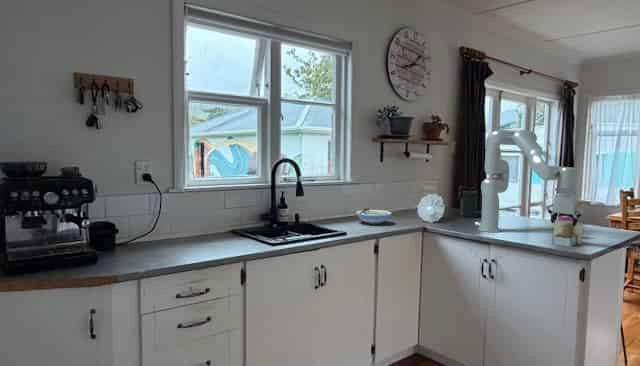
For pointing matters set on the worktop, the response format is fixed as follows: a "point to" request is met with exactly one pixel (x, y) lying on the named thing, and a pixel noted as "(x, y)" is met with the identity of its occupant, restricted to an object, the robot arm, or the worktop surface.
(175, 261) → the worktop surface
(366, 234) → the worktop surface
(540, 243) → the worktop surface
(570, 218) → the supplement box
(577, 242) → the cream block
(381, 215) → the ramen bowl
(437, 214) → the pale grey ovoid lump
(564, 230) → the tan cylinder
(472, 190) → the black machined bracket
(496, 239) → the worktop surface
